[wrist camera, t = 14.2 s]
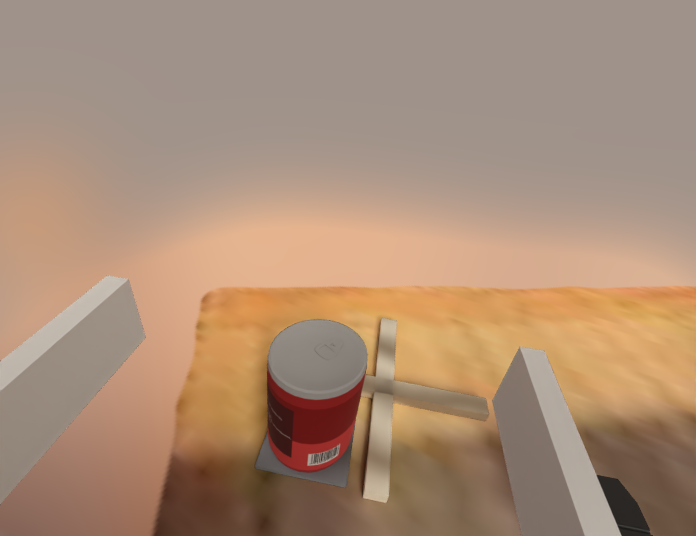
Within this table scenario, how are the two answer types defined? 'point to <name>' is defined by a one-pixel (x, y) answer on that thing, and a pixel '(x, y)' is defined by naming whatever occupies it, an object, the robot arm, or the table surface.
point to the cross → (382, 421)
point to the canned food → (314, 392)
